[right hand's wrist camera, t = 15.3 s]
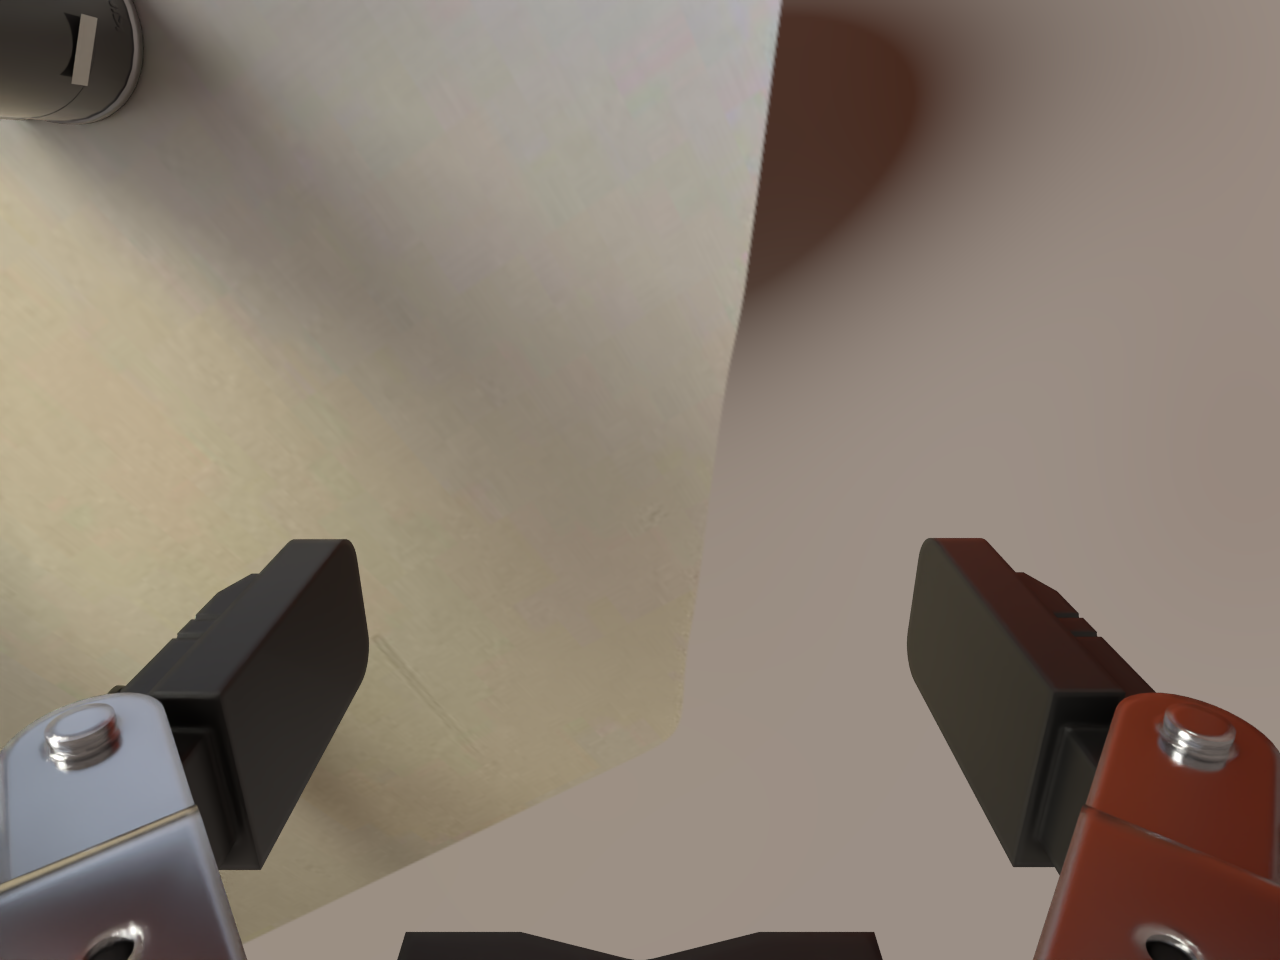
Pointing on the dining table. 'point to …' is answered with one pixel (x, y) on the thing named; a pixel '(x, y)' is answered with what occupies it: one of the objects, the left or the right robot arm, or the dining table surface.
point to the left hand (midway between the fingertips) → (210, 691)
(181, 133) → the dining table surface
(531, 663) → the dining table surface
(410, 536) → the dining table surface
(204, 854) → the right robot arm
